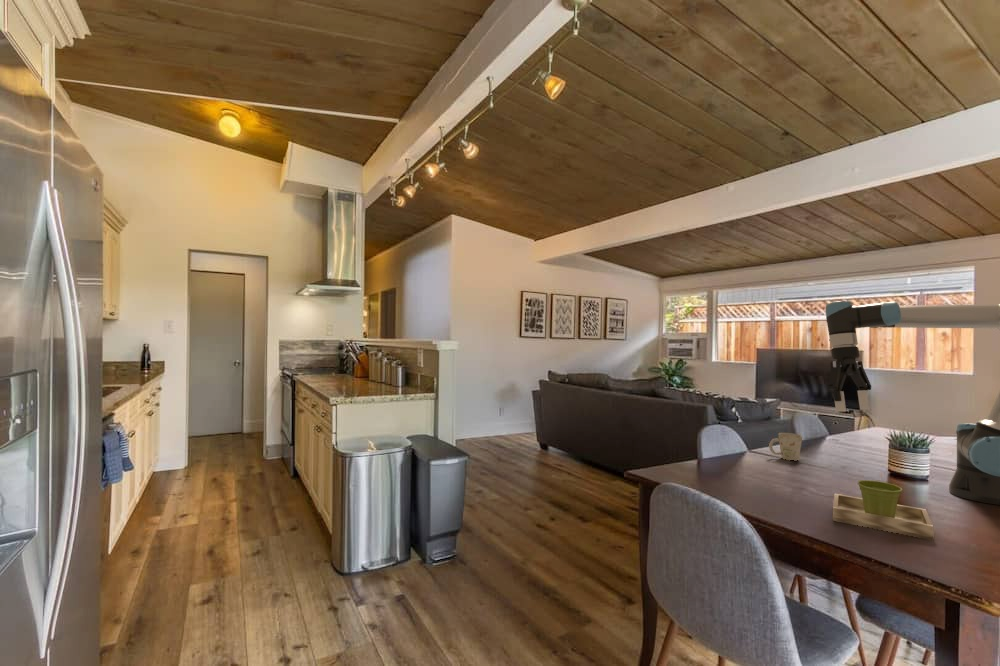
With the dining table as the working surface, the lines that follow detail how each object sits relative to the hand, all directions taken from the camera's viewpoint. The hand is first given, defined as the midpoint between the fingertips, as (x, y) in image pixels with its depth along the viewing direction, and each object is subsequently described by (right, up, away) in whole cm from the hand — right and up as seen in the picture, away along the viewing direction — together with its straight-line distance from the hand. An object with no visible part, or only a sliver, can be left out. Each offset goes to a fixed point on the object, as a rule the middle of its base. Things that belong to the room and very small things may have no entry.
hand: (853, 410), depth 154 cm
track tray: (-15, -25, -29) cm, 41 cm away
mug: (+1, -27, +38) cm, 47 cm away
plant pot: (-15, -24, -28) cm, 40 cm away
